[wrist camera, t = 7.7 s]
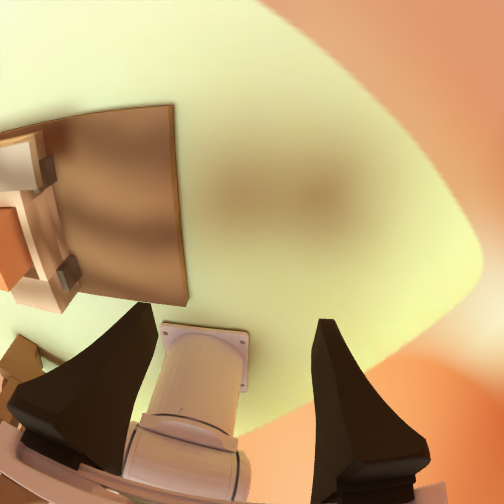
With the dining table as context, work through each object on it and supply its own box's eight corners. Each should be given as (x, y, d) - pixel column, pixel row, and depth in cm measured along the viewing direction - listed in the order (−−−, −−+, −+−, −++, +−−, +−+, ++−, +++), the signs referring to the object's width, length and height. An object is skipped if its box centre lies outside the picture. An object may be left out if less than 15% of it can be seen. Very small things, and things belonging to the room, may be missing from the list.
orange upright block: (47, 250, 21) (9, 291, 17) (25, 248, 21) (-13, 286, 17) (31, 194, 19) (-16, 229, 14) (9, 195, 19) (-36, 228, 14)
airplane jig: (188, 298, 25) (171, 345, 21) (18, 274, 26) (-8, 304, 22) (173, 105, 17) (138, 117, 13) (-20, 138, 18) (-59, 158, 14)
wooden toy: (25, 357, 36) (-38, 483, 15) (18, 333, 33) (-59, 472, 11) (110, 402, 38) (61, 545, 17) (112, 382, 35) (52, 548, 14)
